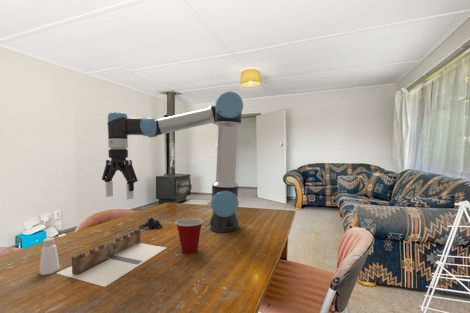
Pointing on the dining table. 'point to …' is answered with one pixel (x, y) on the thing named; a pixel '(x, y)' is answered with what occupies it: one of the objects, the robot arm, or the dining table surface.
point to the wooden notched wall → (123, 242)
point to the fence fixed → (88, 259)
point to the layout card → (115, 265)
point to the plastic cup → (189, 234)
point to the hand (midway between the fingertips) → (119, 197)
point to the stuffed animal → (151, 224)
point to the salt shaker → (49, 257)
